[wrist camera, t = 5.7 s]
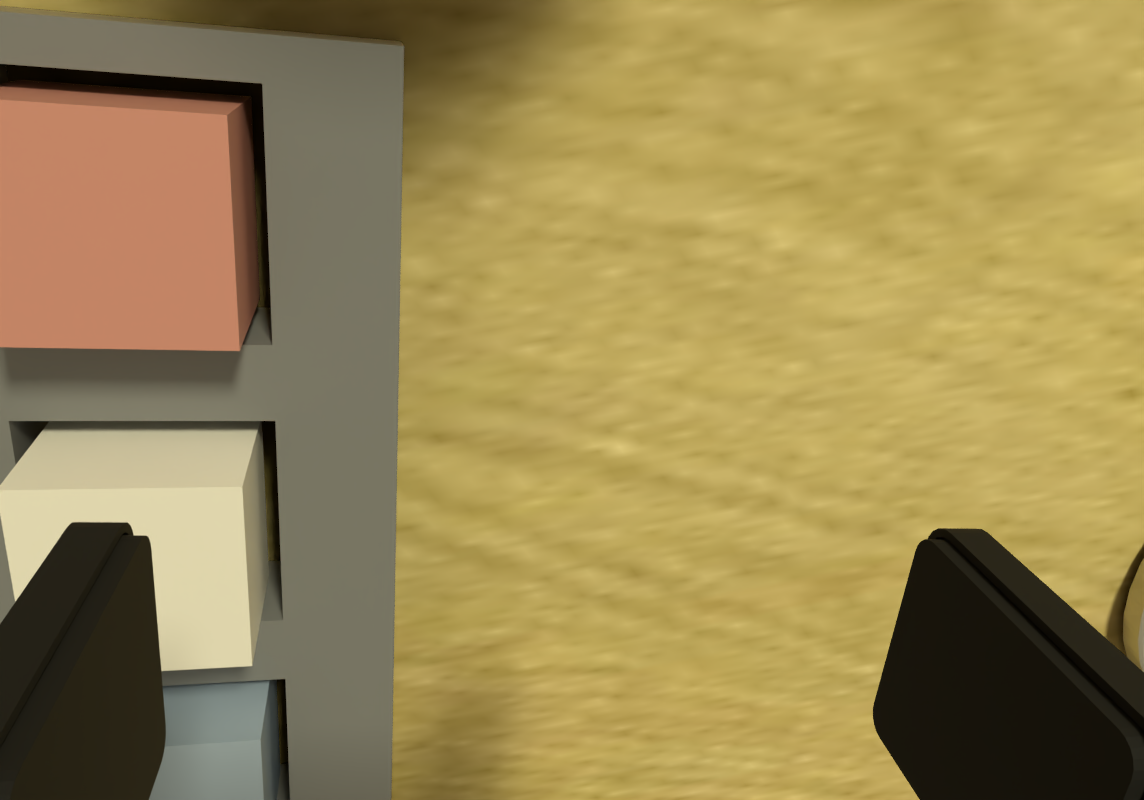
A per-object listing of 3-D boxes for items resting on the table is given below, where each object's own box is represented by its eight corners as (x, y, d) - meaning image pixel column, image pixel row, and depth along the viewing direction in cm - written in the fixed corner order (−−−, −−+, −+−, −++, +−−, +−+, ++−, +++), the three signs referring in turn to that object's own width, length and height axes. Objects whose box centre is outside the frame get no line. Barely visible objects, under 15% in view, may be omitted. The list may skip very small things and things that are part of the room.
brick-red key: (251, 96, 22) (227, 115, 18) (259, 298, 24) (239, 351, 20) (19, 79, 21) (-55, 96, 17) (48, 292, 23) (-14, 347, 19)
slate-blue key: (275, 644, 28) (260, 740, 24) (280, 770, 30) (267, 875, 26) (97, 653, 27) (54, 754, 23) (114, 783, 29) (77, 894, 25)
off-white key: (261, 414, 24) (241, 486, 21) (268, 574, 26) (252, 666, 23) (54, 414, 23) (-5, 490, 20) (77, 581, 25) (28, 678, 21)
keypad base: (400, 40, 23) (404, 45, 20) (388, 777, 32) (390, 849, 29) (-154, -8, 20) (-235, -10, 17) (7, 809, 29) (-30, 891, 27)
